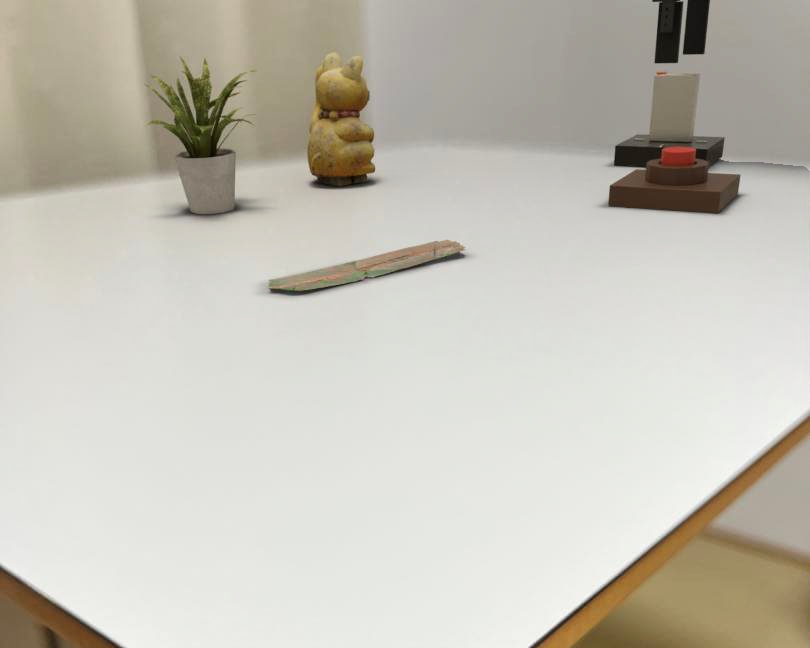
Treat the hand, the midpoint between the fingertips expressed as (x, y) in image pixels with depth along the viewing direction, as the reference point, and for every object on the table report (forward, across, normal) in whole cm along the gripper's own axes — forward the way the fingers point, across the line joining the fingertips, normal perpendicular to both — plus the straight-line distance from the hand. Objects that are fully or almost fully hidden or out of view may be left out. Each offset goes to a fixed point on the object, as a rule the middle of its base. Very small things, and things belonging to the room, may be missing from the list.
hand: (680, 58), depth 120 cm
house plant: (+12, +45, -41) cm, 62 cm away
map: (+13, +61, -11) cm, 63 cm away
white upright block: (+10, 0, 0) cm, 10 cm away
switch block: (+13, +24, +7) cm, 28 cm away
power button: (+9, +24, +7) cm, 26 cm away
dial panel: (+12, 0, 0) cm, 12 cm away
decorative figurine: (+12, +26, -36) cm, 46 cm away
